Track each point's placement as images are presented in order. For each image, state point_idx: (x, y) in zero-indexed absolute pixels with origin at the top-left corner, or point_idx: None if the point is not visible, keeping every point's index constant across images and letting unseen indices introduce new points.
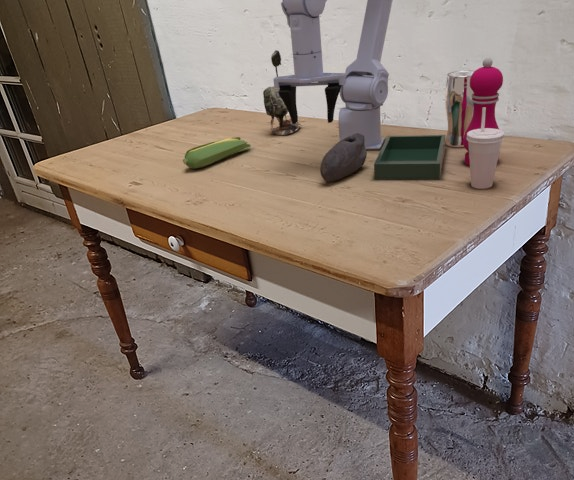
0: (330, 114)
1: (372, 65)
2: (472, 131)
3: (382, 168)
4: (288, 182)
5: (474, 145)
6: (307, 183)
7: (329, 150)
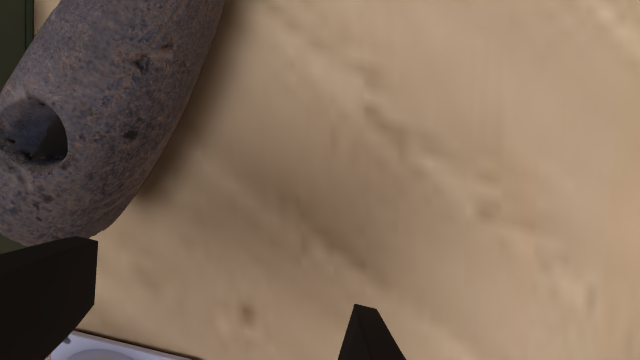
0: (13, 251)
1: None
2: None
3: None
4: (396, 39)
5: None
6: (312, 5)
7: (143, 3)
